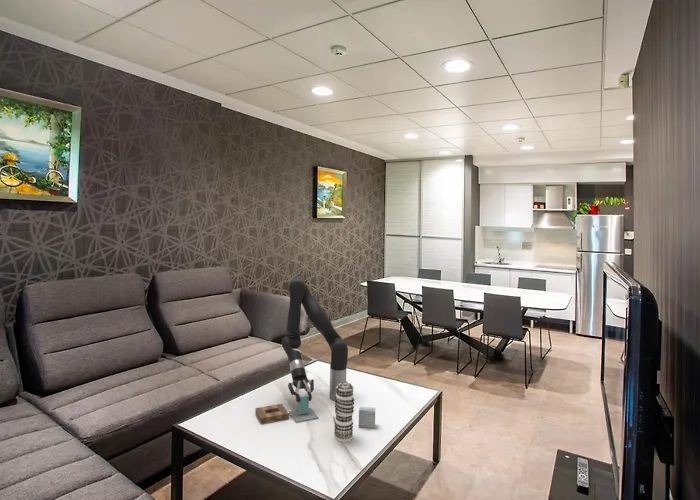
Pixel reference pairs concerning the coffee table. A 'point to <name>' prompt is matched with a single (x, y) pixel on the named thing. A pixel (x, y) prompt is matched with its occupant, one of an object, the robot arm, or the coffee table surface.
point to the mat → (303, 416)
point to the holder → (271, 413)
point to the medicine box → (367, 417)
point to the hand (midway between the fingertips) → (304, 401)
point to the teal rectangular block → (303, 404)
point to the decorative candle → (344, 412)
